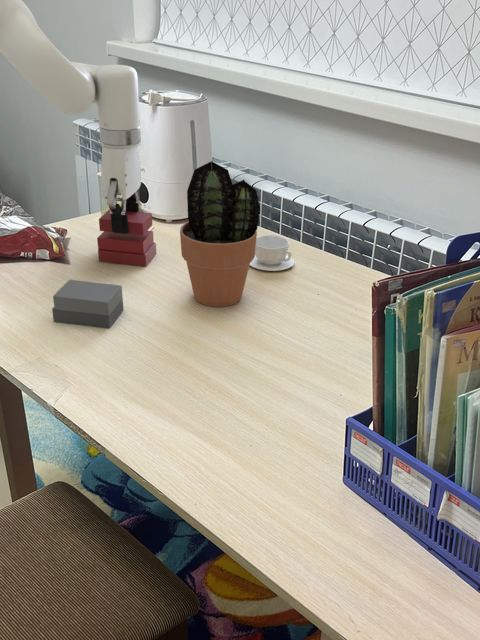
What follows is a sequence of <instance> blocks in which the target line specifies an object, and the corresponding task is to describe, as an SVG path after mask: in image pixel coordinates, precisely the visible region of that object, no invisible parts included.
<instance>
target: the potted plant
mask: <svg viewBox="0 0 480 640" xmlns="http://www.w3.org/2000/svg"><path fill="white" fill-rule="evenodd" d="M186 199H187V200H186V201H187V210H186V211H187V218H188V219H187V220H188V221H187V222H185V223H183V224H182V225H181V226H180V229H179V235H180V236H179V237H180V249H181V251H180V253H181V257H182V258H183V261H185V262H186V266H187V267H186V268H187V271H188V275H189V280H190V284H191V285H190V286H191V288H192V293H193V297H194V299H195V301H197V302H198V303H199V304H202V305H205V306H209V307H229V306H231V305H235V304H237V303H238V302H240V301H241V299H242V298H243V294H244V290H245V285H246V281H247V278H248V277H247V276H248V272H249V269H250V262H252V260H253V259H254V258H255V248H256V237H258V236H257V235H258V233H257V231H258V226H259V218H260V213H261V212H260V211H261V206H260V201H259V196H258V191H257V189H255V188H254V186H252V185H251V184H249V183H248V182H247V181H246V180H245V179H242V180H240V181H238V182H236V183H233V182H232V177H231V175H230V172H229V170H228V169H227V168H225V167H223V166H222V165H220V164H218V163H216V162H214V161H212V160H211V161H209V162H207V163H205V164H203V165H201V166H198V167H197V168H195V169H194V170H193V172H192V176H191V178H190V182H189V184H188V187H187V190H186Z"/></svg>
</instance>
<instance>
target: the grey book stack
mask: <svg viewBox="0 0 480 640" xmlns="http://www.w3.org/2000/svg"><path fill="white" fill-rule="evenodd" d="M52 300H53V307H52V308H51V311H52V319H53V322H54V323H62V324H69V325H78V326H87V327H95V328H101V329H102V328H104V329H111V327H112V326H113V325H114V323H115V322H116V321H117V320H118V318H119V317H120V315H121V314H122V313H123V312H124V297H123V285H120V284H112V283H104V282H94V281H85V280H78V279H69V280H67V281H66V282H65V283H64V284H63V285H62V286H61V287H60V288H59V290H57V291H56V292H55V293H54V294H53V295H52Z"/></svg>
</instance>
